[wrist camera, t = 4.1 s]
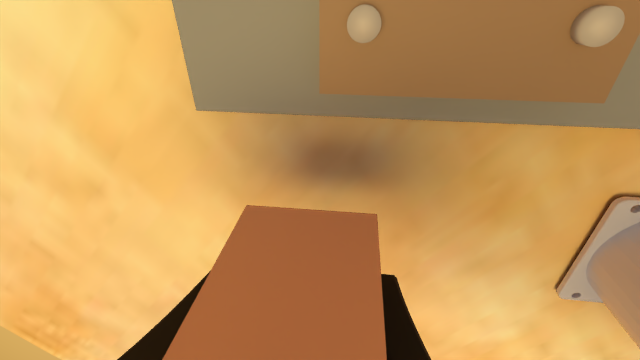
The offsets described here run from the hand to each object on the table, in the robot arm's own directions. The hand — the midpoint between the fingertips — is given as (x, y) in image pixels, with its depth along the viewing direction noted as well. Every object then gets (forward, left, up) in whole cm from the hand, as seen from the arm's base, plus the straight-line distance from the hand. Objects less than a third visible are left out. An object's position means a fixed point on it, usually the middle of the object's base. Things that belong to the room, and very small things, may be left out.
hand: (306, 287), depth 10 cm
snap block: (0, 0, -1) cm, 1 cm away
